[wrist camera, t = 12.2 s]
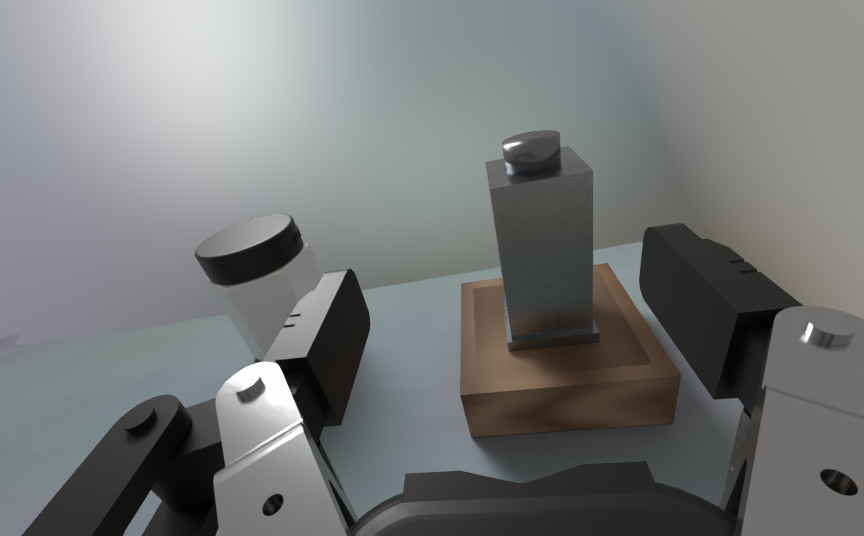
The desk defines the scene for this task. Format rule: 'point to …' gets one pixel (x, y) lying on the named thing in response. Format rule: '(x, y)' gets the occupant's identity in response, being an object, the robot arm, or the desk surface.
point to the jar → (259, 275)
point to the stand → (563, 369)
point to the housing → (544, 241)
